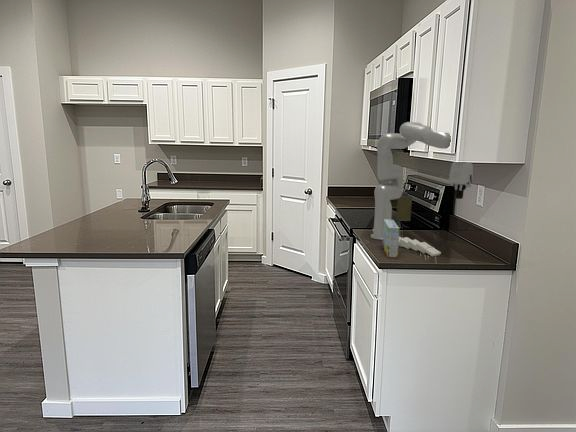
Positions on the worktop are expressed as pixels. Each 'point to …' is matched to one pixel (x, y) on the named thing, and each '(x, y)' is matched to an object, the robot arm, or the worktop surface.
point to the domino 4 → (428, 249)
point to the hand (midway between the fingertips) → (459, 198)
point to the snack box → (390, 238)
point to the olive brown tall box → (404, 207)
